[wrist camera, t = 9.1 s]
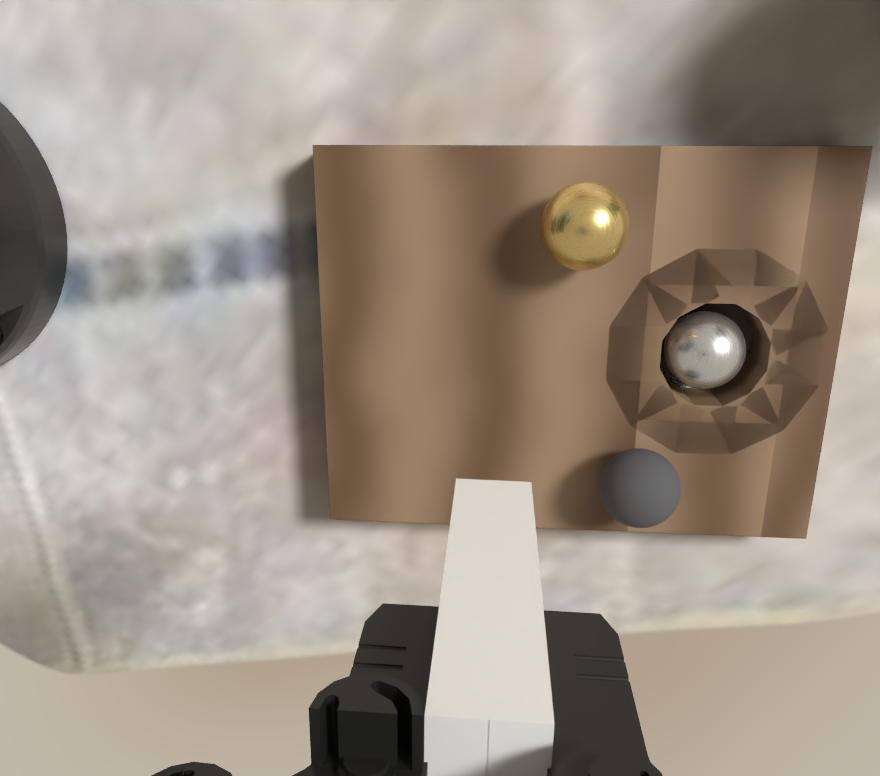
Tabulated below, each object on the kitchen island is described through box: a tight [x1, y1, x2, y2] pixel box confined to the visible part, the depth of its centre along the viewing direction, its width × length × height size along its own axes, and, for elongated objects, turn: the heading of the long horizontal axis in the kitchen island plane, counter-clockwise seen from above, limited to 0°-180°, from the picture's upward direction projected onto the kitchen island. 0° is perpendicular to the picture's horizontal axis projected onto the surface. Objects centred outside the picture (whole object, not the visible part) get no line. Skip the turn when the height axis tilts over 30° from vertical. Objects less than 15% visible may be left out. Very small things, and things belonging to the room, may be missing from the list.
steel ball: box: [664, 311, 746, 389], centre depth 32 cm, size 3×3×3 cm
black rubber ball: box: [599, 448, 681, 528], centre depth 32 cm, size 3×3×3 cm
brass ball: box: [540, 181, 629, 271], centre depth 29 cm, size 3×3×3 cm
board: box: [313, 145, 872, 539], centre depth 33 cm, size 22×17×2 cm
